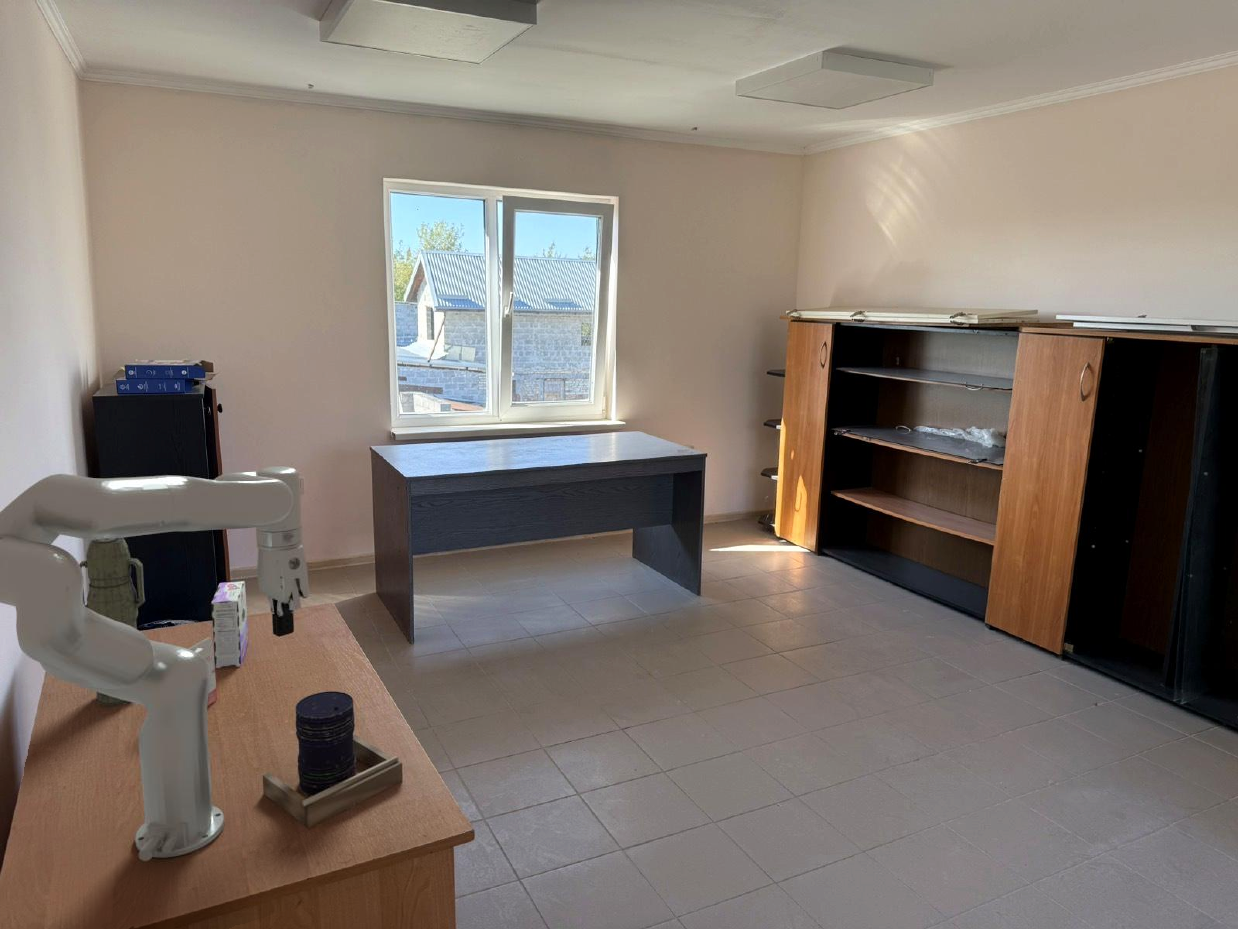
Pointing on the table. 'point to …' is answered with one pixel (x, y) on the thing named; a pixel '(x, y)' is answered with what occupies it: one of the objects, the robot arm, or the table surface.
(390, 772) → the dock
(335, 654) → the table surface
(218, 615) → the candy box
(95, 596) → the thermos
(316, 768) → the dark blue cylinder
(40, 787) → the table surface
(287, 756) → the table surface
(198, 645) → the ink cartridge box
